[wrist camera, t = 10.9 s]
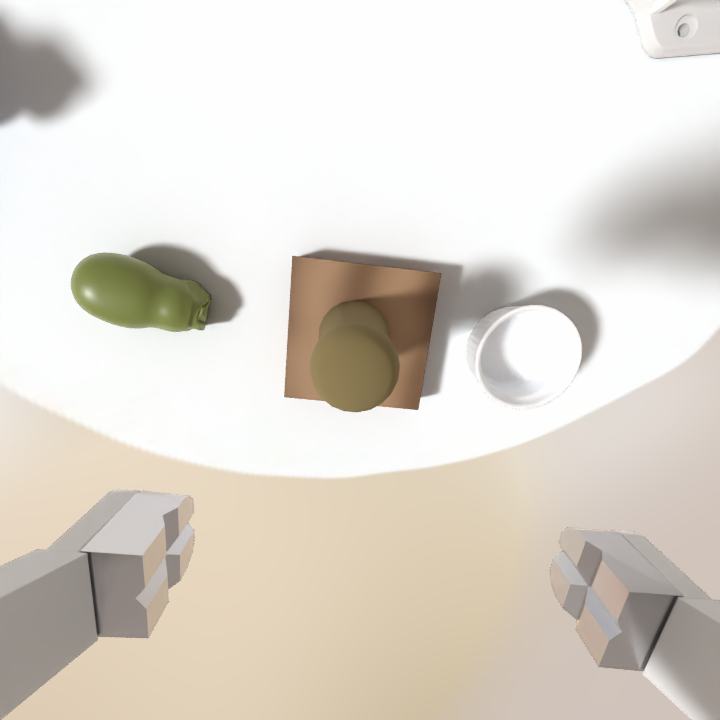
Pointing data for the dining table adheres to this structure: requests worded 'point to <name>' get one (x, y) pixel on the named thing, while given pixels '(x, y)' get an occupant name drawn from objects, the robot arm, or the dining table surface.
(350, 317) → the pepper mill
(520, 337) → the ramekin
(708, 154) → the dining table surface
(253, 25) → the dining table surface
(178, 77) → the dining table surface
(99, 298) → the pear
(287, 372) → the walnut block
